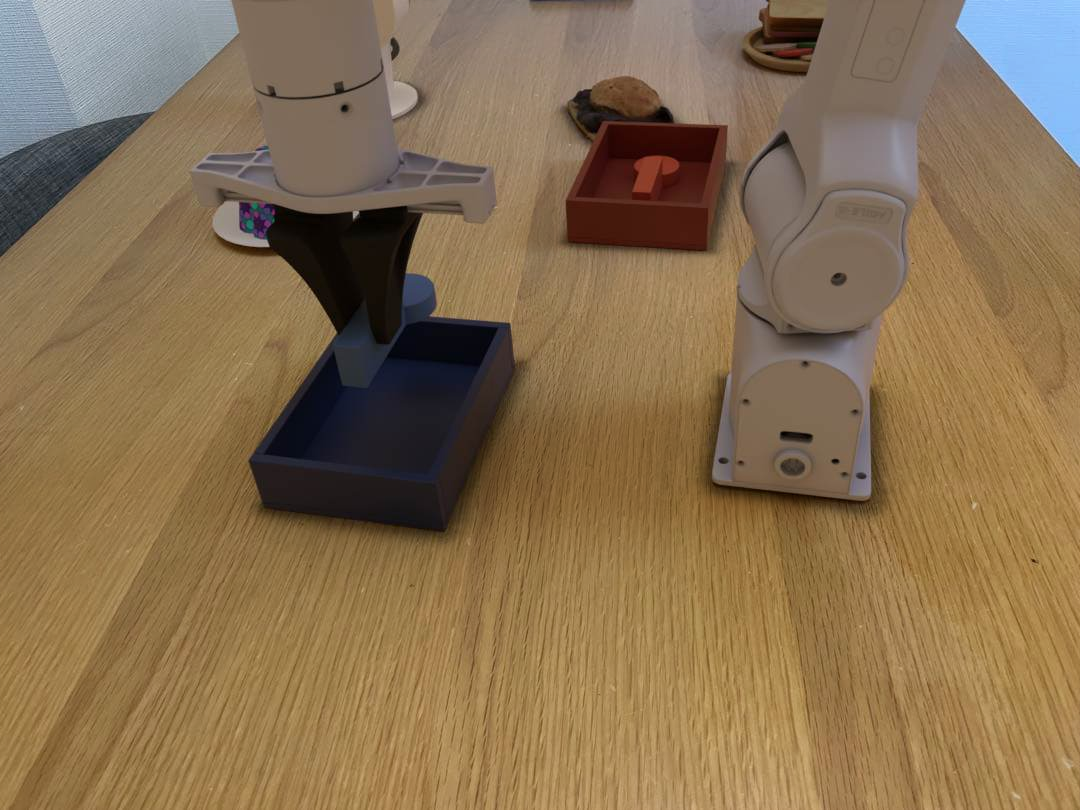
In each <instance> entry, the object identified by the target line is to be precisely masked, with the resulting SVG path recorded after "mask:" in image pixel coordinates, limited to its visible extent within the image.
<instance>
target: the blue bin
mask: <svg viewBox="0 0 1080 810" xmlns="http://www.w3.org/2000/svg"><path fill="white" fill-rule="evenodd" d="M511 326H512V325H511V323H510V322H502V321H494V320H493V321H490V320H481V319H467V318H457V317H456V318H455V317H444V316H431V315H430V316H428V317H427V318H425V319H423V320H421V321H419V322H416V323H412V324H407V325H406V326H405V327H404V329H403V331H402V332H401V334H400V335H399V337H398V339H397V340H396V342H395V344H394V345H393V347H392V348H391V350H390V352H389V353H388V355H387V357H386V358H385V360H384V361H383V363H382V365H381V366H380V368H379V370H378V371H377V373H376V374H375V376H374V378H373V379H372V381H371V383H370V384H369V386H368V387H367V388H359V387H349V386H343V385H342V381H341V377H340V373H339V369H338V365H337V361H336V356H335V352H334V348H333V344H334V343H335V341H336V340H337V338H338V337H339V335H338V333H337V332H336V333H335V335H334V336H333V337H332V339H331V341H330V342H329V344H328V345H327V346H326V347H325V348H324V350H323V352H322V354H321V355H320V356H319V358H318V359H317V361H316V362H315V364H314V365H313V367H312V368H311V369H310V371H309V372H308V374H307V375H306V377H304V379H303V381H302V382H301V384H300V385H299V386H298V388H297V389H296V391H295V393H293V395H292V397H291V398H290V400H289V401H288V403H287V404H286V405H285V407H284V408H283V410H282V411H281V412H280V414H279V415H278V417H277V418H276V420H275V421H274V423H273V424H272V425H271V427H270V428H269V430H268V431H267V432H266V434H265V435H264V437H263V438H262V439H261V441H260V443H258V445H257V447H256V448H255V450H254V452H253V453H252V454H251V456H250V457H249V458H248V461H247V462H248V464H249V467H250V470H251V473H252V476H253V479H254V482H255V485H256V488H257V492H258V494H259V497H260V500H261V504H262V506H263V508H265V509H266V508H267V509H274V510H281V511H288V512H294V513H295V512H297V513H301V514H303V513H304V514H311V515H318V516H324V517H333V518H341V519H347V520H355V521H361V522H362V521H363V522H371V523H377V524H385V525H392V526H399V527H408V528H415V529H422V530H430V531H437V532H445V530H446V528H447V526H448V523H449V521H450V519H451V516H452V514H453V512H454V509H455V507H456V505H457V503H458V500H459V499H460V496H461V493H462V491H463V490H464V487H465V484H466V482H467V479H468V477H469V475H470V473H471V470H472V468H473V465H474V463H475V461H476V459H477V456H478V454H479V452H480V450H481V448H482V445H483V443H484V441H485V438H486V437H487V434H488V431H489V429H490V427H491V425H492V422H493V420H494V417H495V416H496V413H497V411H498V409H499V406H500V404H501V402H502V399H503V397H504V395H505V392H506V390H507V388H508V386H509V383H510V381H511V379H512V376H513V374H514V372H515V370H516V364H515V363H516V362H515V355H514V346H513V336H512V335H513V333H512V327H511Z"/></svg>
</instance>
